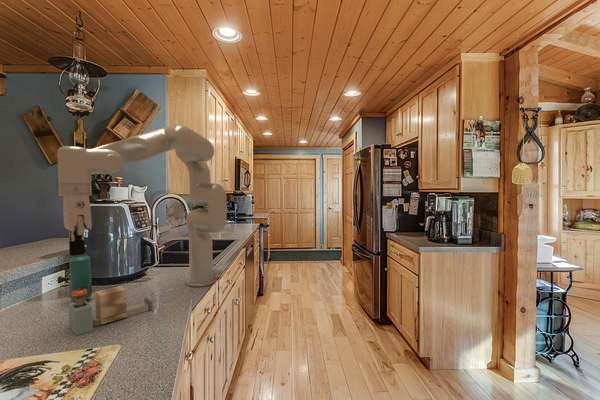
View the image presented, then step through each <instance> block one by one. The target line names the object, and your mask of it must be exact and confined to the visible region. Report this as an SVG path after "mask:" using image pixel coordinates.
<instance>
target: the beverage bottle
mask: <svg viewBox="0 0 600 400" xmlns="http://www.w3.org/2000/svg"><path fill="white" fill-rule="evenodd" d="M87 251H88V250H87V246H86V245H84V253H87ZM68 262H69V263H68V264H69V265H68V266H69V294H70V300H71V301H75V297H72V291H74V290H78V289H87V295H85V300H87V299H90V298H91V297H92V295H93V286H92V266H91V257H90V256H89V255H87V254H81V255H73V256H71V258H70V259H69V260H68Z"/></svg>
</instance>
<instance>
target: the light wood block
mask: <svg viewBox="0 0 600 400" xmlns="http://www.w3.org/2000/svg"><path fill="white" fill-rule="evenodd" d="M94 295H95V296H94V297H95V301H94V302H95V316H98V317H100V318H101V319H100V324H101V325H105V324H107V323H108V322H109V323H112V322H114V321H115V322H116V321H118V320H121V319H125V318H128V317H127V307H128V305H127V289H126V288H125V287H123V286H122V285H118V286H114V287H113V286H112V287H109V288H105V289H100V290H96V291H95V292H94ZM101 325H100V326H101Z"/></svg>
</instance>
